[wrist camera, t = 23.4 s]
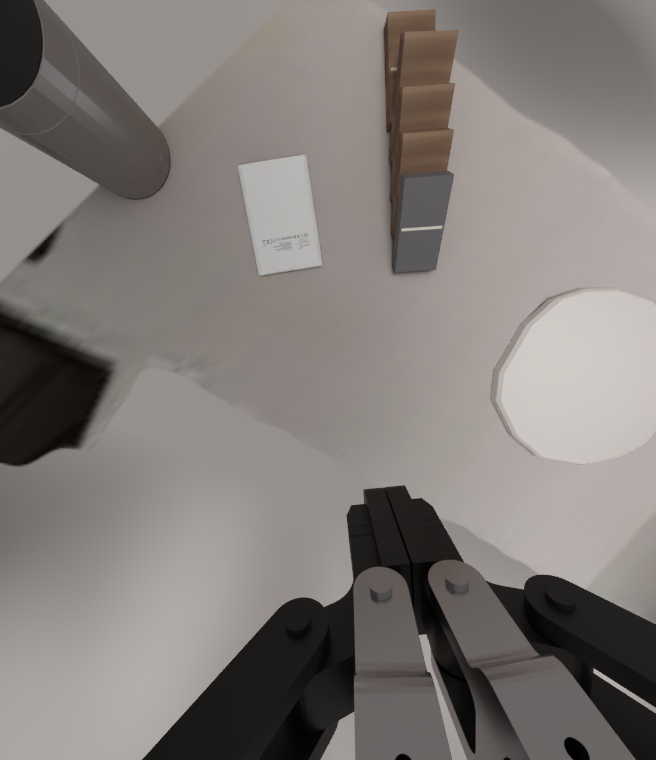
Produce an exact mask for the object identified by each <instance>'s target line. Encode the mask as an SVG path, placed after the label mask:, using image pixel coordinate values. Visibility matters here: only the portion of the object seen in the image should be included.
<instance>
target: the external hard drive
mask: <svg viewBox="0 0 656 760" xmlns="http://www.w3.org/2000/svg"><path fill="white" fill-rule="evenodd" d="M238 170H239V176H240V181H241V186H242V191H243V196H244V202H245V207H246V212H247V217H248V222H249V228H250V233H251V238H252V243H253V248H254V253H255V259H256V264H257V269H258V274H259V276H265V275H271V274H278V273H284V272H289V271H295V270H303V269H309V268H316V267H322V258H321V251H320V244H319V238H318V231H317V223H316V217H315V210H314V203H313V196H312V189H311V183H310V176H309V169H308V163H307V156H306V155H298V156H292V157H285V158H279V159H273V160H268V161H260V162H254V163H248V164H243V165H238Z"/></svg>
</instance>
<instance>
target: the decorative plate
mask: <svg viewBox="0 0 656 760" xmlns="http://www.w3.org/2000/svg"><path fill="white" fill-rule="evenodd" d="M491 400H492V402H493V404H494V406H495V408H496V409H497V411H498V413H499V415H500V417H501V419H502V421H503V423H504V425H505V427H506V429H507V431H508V433H509V434H510V435H511V436H513V437H514V438H515V439H516V440H517V441H518V442H520V443H521V444H522V445H523V446H524V447H525V448H527V449H528V450H529V451H530V452H531V453H532V454H534V455H535V456H537V457H538V458H541V459H547V460H553V461H559V462H565V463H571V464H577V465H582V464H588V463H593V462H598V461H603V460H608V459H613V458H618V457H620V456H622V455H624V454H626V453H628V452H630V451H632V450H634V449H636V448H638V447H639V446H641V445H643V444H645V443H646V442H647V440H648V439H649V438H650V437H651V436H652V434H653V433H654V432H655V431H656V304H655V303H654V302H653V301H652V300H651V299H649V298H646V297H643V296H640V295H637V294H634V293H631V292H628V291H624V290H621V289H618V288H588V289H576V290H573V291H570V292H567V293H564V294H561V295H559V296H556V297H553V298H550V299H548V300H547V301H546V302H545V303H543V304H542V305H541V306H540V307H539V308H538V309H537V310H536V311H534V312H533V313H532V314H531V315H530V316H529V317H528V318H527V319H526V320H524V321H523V322H522V323H521V324H520V326H519V327H518V329H517V331H516V333H515V334H514V336H513V338H512V340H511V341H510V343H509V345H508V347H507V348H506V350H505V352H504V354H503V355H502V357H501V359H500V361H499V362H498V364H497V366H496V368H495V369H494V374H493V383H492V392H491Z"/></svg>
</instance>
